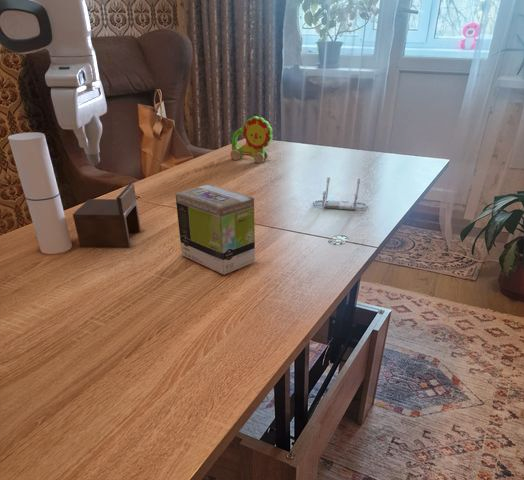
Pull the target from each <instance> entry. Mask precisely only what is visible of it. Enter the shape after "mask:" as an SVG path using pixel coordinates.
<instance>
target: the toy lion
mask: <svg viewBox="0 0 524 480" xmlns="http://www.w3.org/2000/svg"><path fill="white" fill-rule="evenodd" d="M265 119H266V118H264V117H259V116H258V115H255V116H252V117H251V118H248V119H246V121H245V123H243V125H242V127H241V128H238V129H237V130H235V131H234V132H233V133H232V135H231V136H232V137H231V151H230V158H231V159H232V160H233V161H238V160H239V159H241V158H243V157H244V156H246V157H247V156H248V157H251V158H253V159H254V161H255V163H257V164H262V163H263V162H264V161H266V160H267V159H268V158H269V152H268V151H267V150H266V147H269V145H270V144H271V142H272V140H273V139H274V138H273V137H274V135H273V127H272V126H271V124H270V122H269V121H268V120H265ZM240 135H242V136H243V137H244V139H245V144H243V145H241V146H239V144H238V138H239V136H240Z"/></svg>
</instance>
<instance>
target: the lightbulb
mask: <svg viewBox="0 0 524 480" xmlns="http://www.w3.org/2000/svg"><path fill="white" fill-rule="evenodd" d="M85 133H86V136H87V138H89V143H90V145H89V146H88V147H87V148H83V149H84V153H85V154H86V157H87V161H88V163H89V164H91V165H92V166H97V165H98V164H99V163H100V162H101V157H100V152H101V150H100V141H101V138H102V134H103V123H102V122H101V120H100V118H99V119H98V117H97V116H96V115H93V116H92V118H91V121H90V122H89V123H87V124H86V125H85Z"/></svg>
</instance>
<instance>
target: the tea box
mask: <svg viewBox="0 0 524 480" xmlns="http://www.w3.org/2000/svg"><path fill="white" fill-rule="evenodd" d="M174 196H175V204H176V213H177V223H178V233H179V242H180V251H181V256H183V257H184V258H187V259H189V260H191V261H193V262H195V263H197V264H200V265H201V266H204V267H206V268H208V269H210V270H212V271H215V272H218V273H219V274H221V275H224V276H225V275H227V274H230V273H232V272H234V271H237V270H240V269H242V268H245V267H247V266H249V265H251V264H253V263H255V261H256V244H255V243H256V239H255V238H256V237H255V235H256V234H255V233H256V232H255V197H253V196H251V195H247V194H243V193H239V192H236V191H234V190H231V189H230V190H229V189H226V188H223V187H220V186H217V185H213V184H208V183H207V184H205V185H202V186H201V185H200V186H197V187H194V188H189V189H186V190H182V191H179V192H175V195H174Z"/></svg>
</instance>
